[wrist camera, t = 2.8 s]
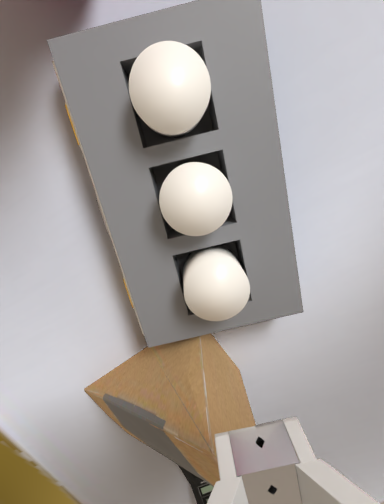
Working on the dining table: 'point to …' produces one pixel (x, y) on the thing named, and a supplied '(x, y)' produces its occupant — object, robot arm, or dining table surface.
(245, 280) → the button container side
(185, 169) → the button middle
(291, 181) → the dining table surface
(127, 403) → the sandwich container
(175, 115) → the ball
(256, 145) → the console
